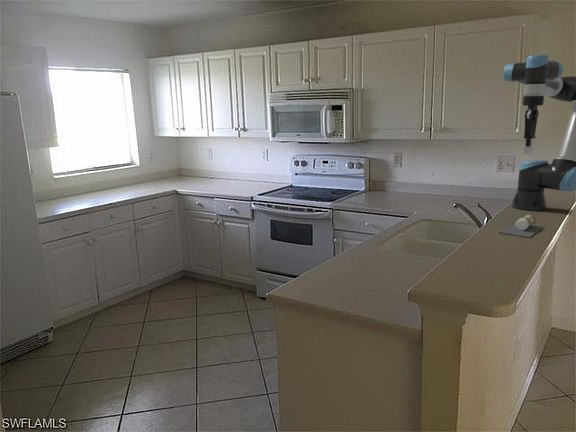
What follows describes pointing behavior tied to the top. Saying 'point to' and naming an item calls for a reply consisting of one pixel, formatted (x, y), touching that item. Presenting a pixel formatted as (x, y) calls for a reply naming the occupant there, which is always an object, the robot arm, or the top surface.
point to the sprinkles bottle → (525, 222)
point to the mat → (525, 233)
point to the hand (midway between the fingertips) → (527, 154)
